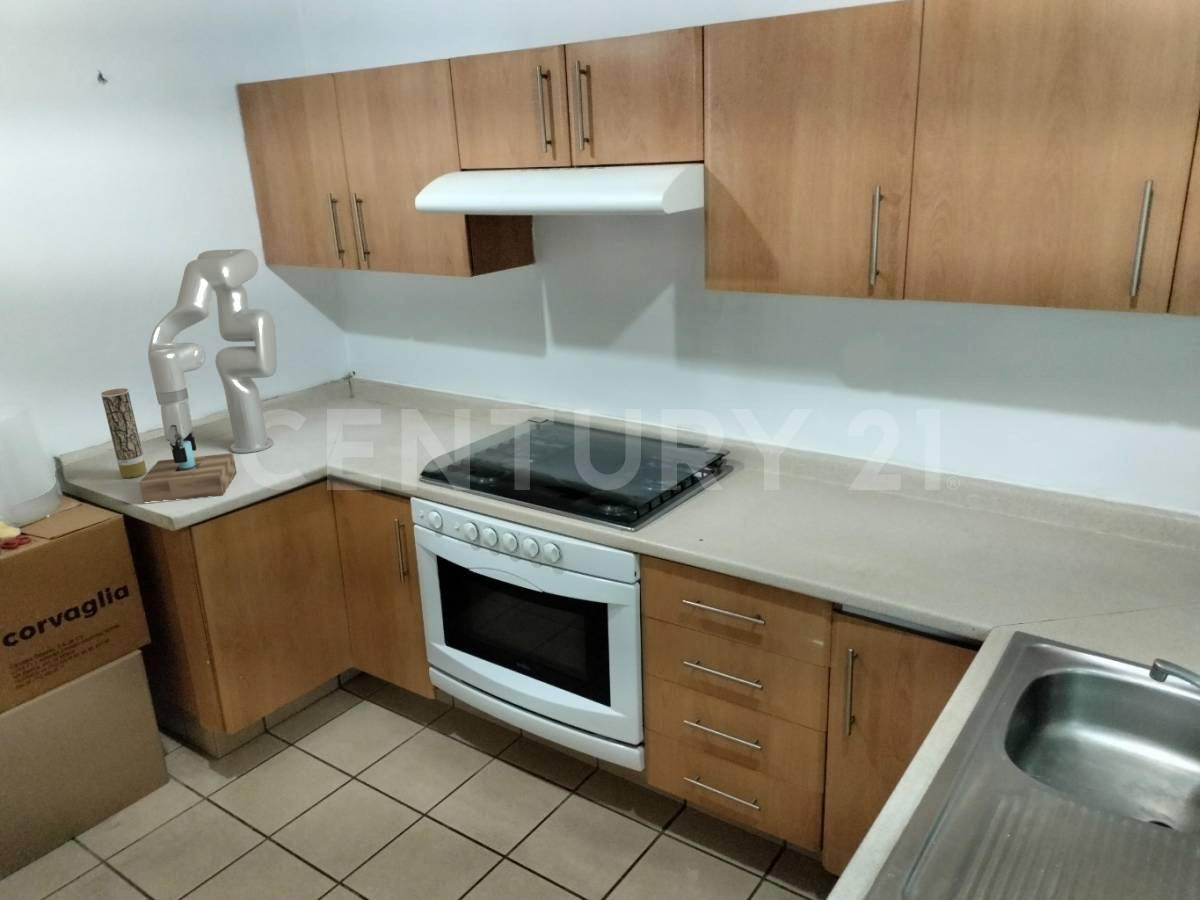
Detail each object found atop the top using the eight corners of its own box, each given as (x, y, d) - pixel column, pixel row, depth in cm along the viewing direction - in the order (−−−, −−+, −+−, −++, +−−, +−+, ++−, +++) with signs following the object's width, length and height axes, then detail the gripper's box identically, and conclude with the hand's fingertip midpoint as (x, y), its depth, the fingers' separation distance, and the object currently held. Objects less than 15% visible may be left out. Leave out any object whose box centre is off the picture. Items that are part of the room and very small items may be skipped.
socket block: (163, 480, 255) (158, 460, 253) (236, 472, 258) (232, 453, 256) (143, 503, 238) (139, 482, 236) (223, 495, 241) (218, 474, 239)
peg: (185, 482, 250) (176, 441, 246) (201, 481, 250) (192, 440, 246) (181, 487, 246) (172, 446, 242) (197, 486, 246) (188, 444, 242)
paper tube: (136, 479, 257) (116, 394, 249) (115, 478, 259) (95, 394, 251) (152, 471, 264) (133, 388, 256) (131, 470, 265) (112, 388, 257)
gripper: (166, 389, 247) (179, 447, 253) (148, 406, 231) (162, 468, 237) (195, 386, 248) (207, 445, 254) (178, 403, 232) (192, 465, 238)
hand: (185, 456), depth 246 cm, fingers open, 9 cm apart
